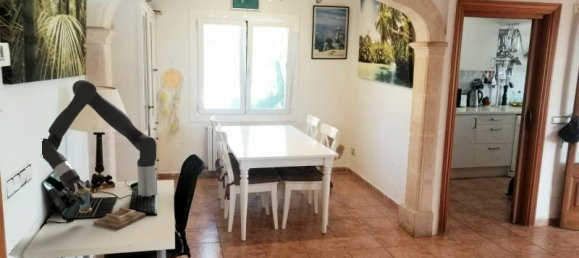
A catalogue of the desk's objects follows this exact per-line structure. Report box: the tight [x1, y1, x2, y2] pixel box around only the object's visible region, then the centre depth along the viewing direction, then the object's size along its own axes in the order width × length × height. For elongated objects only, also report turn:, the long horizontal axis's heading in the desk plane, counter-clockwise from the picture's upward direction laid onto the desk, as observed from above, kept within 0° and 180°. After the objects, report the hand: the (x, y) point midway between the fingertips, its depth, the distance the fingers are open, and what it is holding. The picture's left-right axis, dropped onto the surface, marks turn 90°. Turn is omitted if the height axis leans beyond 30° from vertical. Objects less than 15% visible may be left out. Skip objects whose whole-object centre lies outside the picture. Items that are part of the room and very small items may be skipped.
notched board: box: [93, 207, 146, 231], centre depth 209 cm, size 18×14×4 cm
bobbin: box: [78, 188, 93, 214], centre depth 206 cm, size 5×5×10 cm
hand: (87, 202), depth 205 cm, fingers closed on bobbin, 4 cm apart
